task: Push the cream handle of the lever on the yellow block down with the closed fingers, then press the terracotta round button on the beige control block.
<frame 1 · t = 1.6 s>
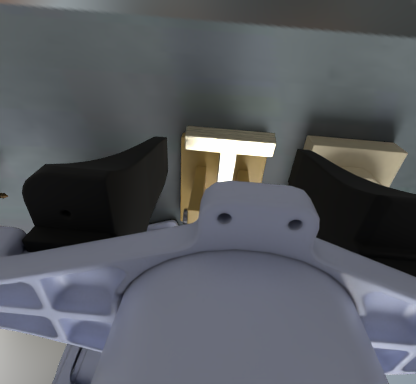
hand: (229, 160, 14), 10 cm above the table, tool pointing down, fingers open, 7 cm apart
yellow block: (220, 180, 27), on the table
lever: (222, 190, 19), point 7 cm above the table, hinge at 12.0°
control block: (332, 184, 26), on the table
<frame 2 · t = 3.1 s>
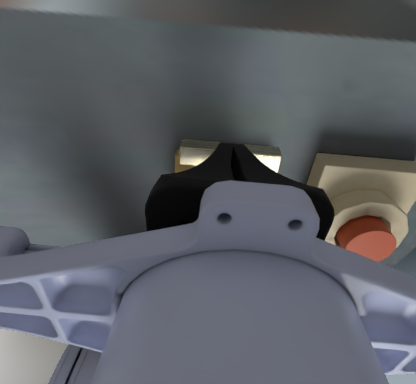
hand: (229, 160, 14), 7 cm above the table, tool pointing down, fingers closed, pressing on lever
lever: (221, 214, 17), point 6 cm above the table, hinge at 2.4°, touching gripper
control block: (343, 205, 24), on the table
button: (365, 240, 20), point 4 cm above the table, slide at 0.1 cm
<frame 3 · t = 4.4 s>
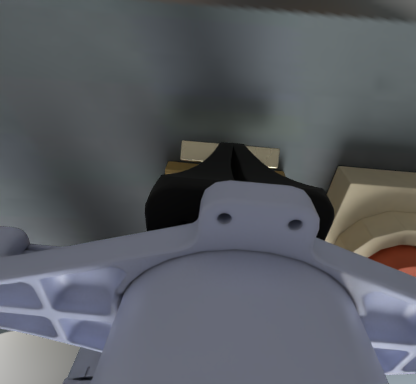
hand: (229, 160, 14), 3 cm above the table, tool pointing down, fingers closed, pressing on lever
lever: (222, 230, 15), point 4 cm above the table, hinge at -30.3°, touching gripper
control block: (366, 226, 20), on the table
button: (398, 274, 16), point 4 cm above the table, slide at 0.1 cm
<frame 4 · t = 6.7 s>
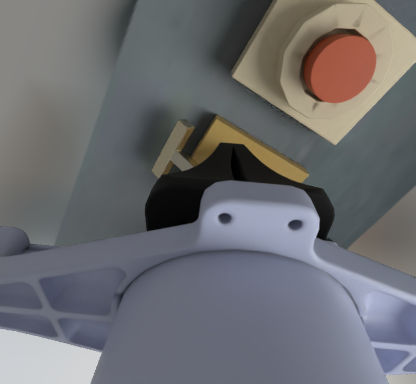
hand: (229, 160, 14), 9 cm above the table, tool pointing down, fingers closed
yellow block: (238, 174, 25), on the table
lever: (209, 184, 21), point 4 cm above the table, hinge at -30.3°
control block: (316, 58, 19), on the table
button: (337, 69, 16), point 4 cm above the table, slide at 0.1 cm
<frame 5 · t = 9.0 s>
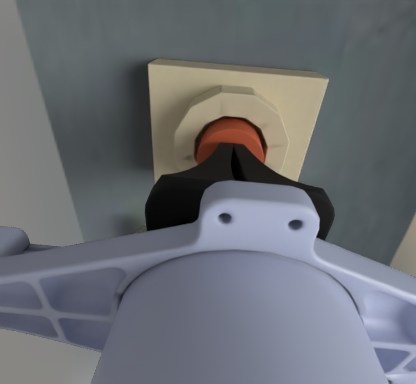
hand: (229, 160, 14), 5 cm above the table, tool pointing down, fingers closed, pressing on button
lever: (185, 279, 21), point 4 cm above the table, hinge at -30.3°
control block: (229, 127, 18), on the table
button: (229, 153, 15), point 4 cm above the table, slide at -0.2 cm, touching gripper
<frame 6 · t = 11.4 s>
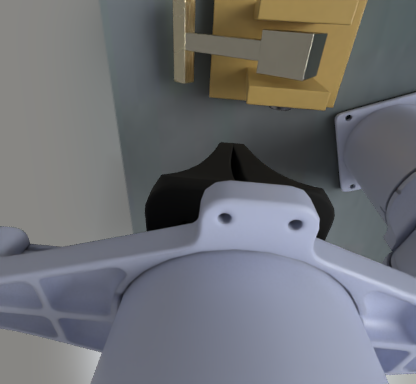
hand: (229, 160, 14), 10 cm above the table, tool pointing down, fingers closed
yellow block: (278, 45, 20), on the table
lever: (237, 47, 16), point 4 cm above the table, hinge at -30.3°
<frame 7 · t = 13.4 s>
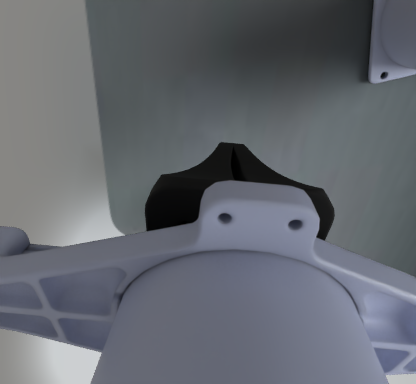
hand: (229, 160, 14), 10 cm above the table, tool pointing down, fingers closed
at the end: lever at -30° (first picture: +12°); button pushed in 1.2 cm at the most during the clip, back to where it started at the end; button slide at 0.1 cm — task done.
